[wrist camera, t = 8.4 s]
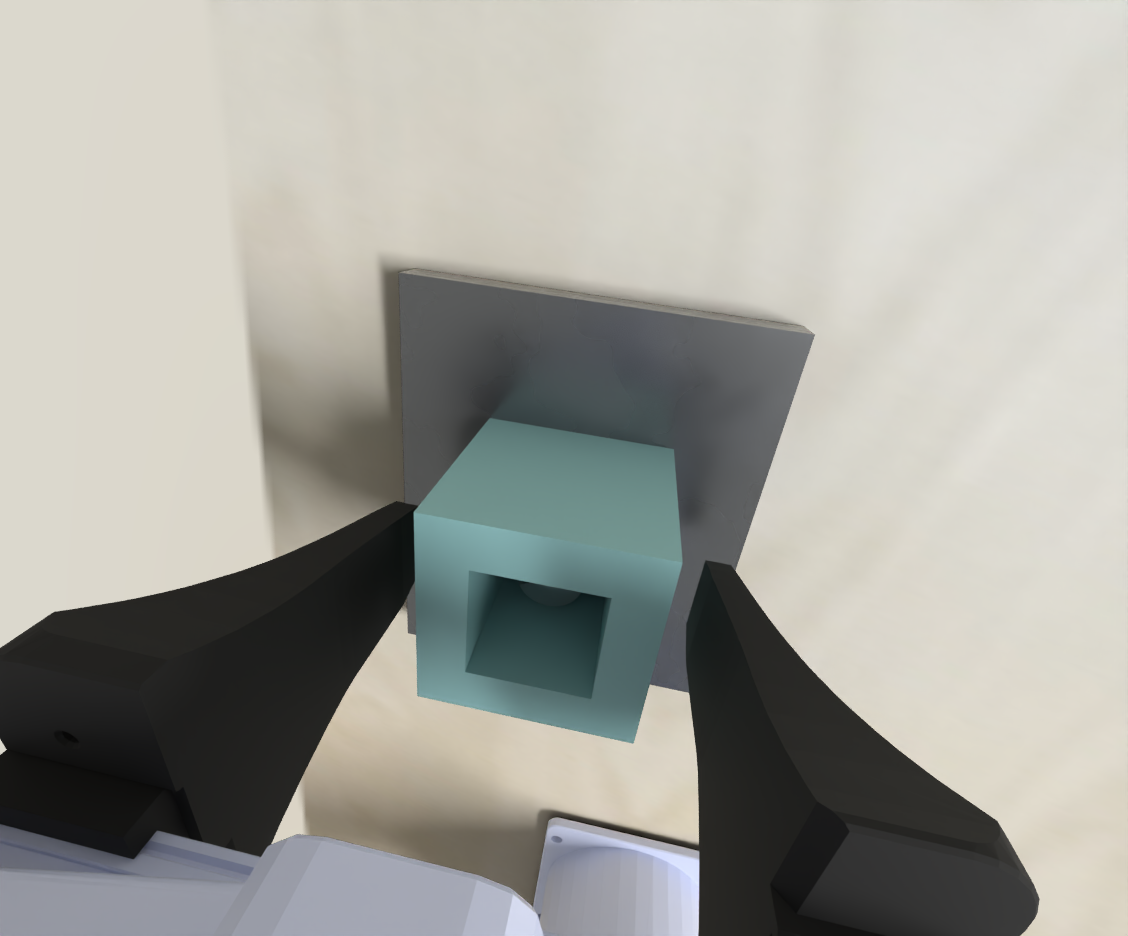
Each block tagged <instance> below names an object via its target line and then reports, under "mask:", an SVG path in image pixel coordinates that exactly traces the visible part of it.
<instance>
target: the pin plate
mask: <svg viewBox="0 0 1128 936" xmlns="http://www.w3.org/2000/svg"><path fill="white" fill-rule="evenodd" d="M399 302H400V341H401V380H402V419H403V458H404V497H405V503H407V504H413V505H418V506H419V505H420V504H421V503H422V501H423V500H424V499H425V498H426V496H427V495H428V494H429V493H430V491H431V490H432V489H433V488H434V486H435V485H436V484H437V483H438V481H439V480H440V479H441V478H442V477H443V475H444V474H445V473H446V472H447V470H448V469H449V468H450V467H451V465H452V464H453V463H454V462H455V460H456V459H457V458H458V457H459V455H460V454H461V453H462V452H463V451H464V449H465V448H466V447H467V446H468V444H469V443H470V442H471V441H472V439H473V438H474V437H475V436H476V434H477V433H478V432H479V431H480V429H481V428H482V427H483V426H484V424H485V423H486V422H487V421H488V420H489V418H492V419H498V420H504V421H510V422H516V423H522V424H528V425H534V426H540V427H545V428H551V429H557V430H563V431H569V432H575V433H581V434H587V435H593V436H599V437H605V438H611V439H617V440H622V441H628V442H634V443H640V444H646V445H652V446H658V447H664V448H670V449H674V458H675V471H676V484H677V497H678V510H679V523H680V536H681V548H682V561H683V563H682V567H681V571H680V574H679V578H678V582H677V585H676V589H675V593H674V596H673V600H672V604H671V607H670V611H669V615H668V618H667V622H666V626H665V629H664V633H663V637H662V640H661V644H660V648H659V651H658V655H657V659H656V662H655V666H654V670H653V673H652V677H651V681H650V684H651V685H655V686H660V687H665V688H669V689H674V690H679V691H684V692H688V693H689V686H688V677H687V668H686V623H687V620H688V616H689V613H690V610H691V606H692V603H693V600H694V596H695V593H696V590H697V586H698V583H699V580H700V576H701V573H702V570H703V566H704V563H705V560H708V561H713V562H718V563H723V564H729V565H731V566H732V567H733V568H734V570H736V567H737V564H738V561H739V558H740V555H741V552H742V549H743V546H744V543H745V540H746V537H747V534H748V531H749V528H750V525H751V522H752V519H753V516H754V514H755V511H756V508H757V505H758V502H759V499H760V496H761V493H762V490H763V487H764V484H765V481H766V478H767V475H768V472H769V469H770V466H771V463H772V460H773V457H774V454H775V451H776V448H777V445H778V442H779V439H780V436H781V433H782V431H783V428H784V425H785V422H786V419H787V416H788V413H789V410H790V407H791V404H792V401H793V398H794V395H795V392H796V389H797V386H798V383H799V380H800V377H801V374H802V371H803V368H804V365H805V362H806V359H807V356H808V353H809V350H810V348H811V345H812V342H813V339H814V336H815V334H813V333H812V332H811V331H809V330H808V329H807V328H805V327H804V326H799V325H792V324H785V323H779V322H772V321H765V320H758V319H752V318H745V317H738V316H732V315H725V314H718V313H711V312H705V311H698V310H691V309H684V308H678V307H671V306H664V305H657V304H651V303H644V302H637V301H631V300H624V299H617V298H610V297H604V296H597V295H590V294H583V293H577V292H570V291H563V290H557V289H550V288H543V287H536V286H530V285H523V284H516V283H509V282H503V281H496V280H489V279H482V278H476V277H469V276H462V275H456V274H449V273H442V272H435V271H429V270H422V269H411V270H407V271H403V272H399ZM518 582H519V585H520V587H521V589H522V591H523V592H524V593H525V594H526V595H527V596H528V597H529V598H531V599H532V600H534V601H535V602H537V603H540V604H543V605H546V606H563V605H566V604H569V603H571V602H573V601H574V600H575V599H577V597H578V596H579V595H580V594H581V592H577V591H571V590H566V589H561V588H556V587H551V586H546V585H541V584H536V583H531V582H526V581H521V580H518ZM407 614H408V633H410V634H415V635H416V601H415V582H414V584H413V586H412V588H411V590H410V592H409V594H408V596H407Z"/></svg>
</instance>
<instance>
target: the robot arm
mask: <svg viewBox="0 0 1128 936" xmlns="http://www.w3.org/2000/svg"><path fill="white" fill-rule="evenodd" d="M417 508H418V505H413V504H407V503H402V502H397V501H396V502H394V503H392V504H389V505H387V506H385V507H383V508H381V509H379V510H377V511H375V512H373V513H371V514H369V515H367V516H365V517H363V518H361V519H360V520H358V521H356V522H354V523H352V524H350V525H348V526H346V527H344V528H342V529H340V530H338V531H336V532H334V533H332V534H330V535H328V536H326V537H323V538H321V539H319V540H317V541H314V542H312V543H310V544H308V545H306V546H303V547H301V548H299V549H297V550H295V551H292V552H290V553H288V554H285V555H283V556H280V557H278V558H275V559H273V560H270V561H268V562H265V563H262V564H259V565H256V566H254V567H251V568H248V569H245V570H243V571H239V572H236V573H233V574H230V575H226V576H223V577H219V578H216V579H212V580H209V581H206V582H202V583H199V584H195V585H192V586H188V587H185V588H180V589H176V590H172V591H168V592H164V593H159V594H154V595H150V596H145V597H141V598H136V599H131V600H126V601H120V602H114V603H108V604H102V605H96V606H90V607H84V608H78V609H72V610H65V611H58V612H54V613H52V614H51V615H49V616H47V617H46V618H45V619H43V620H41V621H40V622H38V623H37V624H35V625H34V626H32V627H31V628H29V629H28V630H26V631H25V632H23V633H22V634H20V635H19V636H17V637H16V638H14V639H13V640H11V641H10V642H9V643H7V644H6V645H4V646H3V647H1V648H0V739H1V741H2V743H3V744H4V746H5V747H6V749H7V750H6V751H5V752H3V753H2V754H1V755H0V936H1020V935H1021V934H1022V933H1023V932H1025V931H1026V929H1027V928H1028V927H1029V925H1030V924H1031V923H1032V921H1033V920H1034V919H1035V917H1036V915H1037V912H1038V905H1039V897H1038V894H1037V892H1036V889H1035V887H1034V884H1033V883H1032V881H1031V879H1030V877H1029V875H1028V874H1027V872H1026V870H1025V868H1024V866H1023V865H1022V863H1021V861H1020V859H1019V858H1018V856H1017V854H1016V852H1015V850H1014V849H1013V847H1012V845H1011V843H1010V842H1009V840H1008V838H1007V836H1006V835H1005V833H1004V831H1003V830H1002V828H1001V827H1000V825H999V823H998V822H997V821H996V820H995V819H993V818H992V817H991V816H989V815H988V814H986V813H985V812H983V811H982V810H980V809H979V808H978V807H976V806H975V805H973V804H972V803H970V802H969V801H967V800H966V799H964V798H963V797H962V796H960V795H959V794H957V793H956V792H954V791H953V790H951V789H950V788H949V787H947V786H946V785H944V784H943V783H941V782H940V781H938V780H937V779H936V778H934V777H933V776H932V775H930V774H929V773H928V772H926V771H925V770H924V769H922V768H921V767H920V766H919V765H917V764H916V763H915V762H913V761H912V760H911V759H909V758H908V757H907V756H906V755H904V754H903V753H902V752H900V751H899V750H898V749H897V748H895V747H894V746H893V745H892V744H891V743H889V742H888V741H887V740H886V739H884V738H883V737H882V736H881V735H880V734H878V733H877V732H876V731H875V730H874V729H873V728H872V727H870V726H869V725H868V724H867V723H866V722H865V721H864V720H862V719H861V718H860V717H859V716H858V715H857V714H856V713H855V712H853V711H852V710H851V709H850V708H849V707H848V706H847V705H846V704H845V703H844V702H843V701H842V700H841V699H840V698H838V697H837V696H836V695H835V694H834V693H833V692H832V691H831V690H830V688H829V687H828V686H827V685H826V684H825V683H824V682H823V681H822V680H821V679H820V678H819V677H818V676H817V675H816V674H815V673H814V672H813V671H812V670H811V669H810V668H809V667H808V666H807V664H806V663H805V662H804V661H803V660H802V659H801V658H800V656H799V655H798V654H797V653H796V652H795V651H794V649H793V648H792V647H791V646H790V645H789V644H788V642H787V641H786V640H785V639H784V637H783V636H782V635H781V634H780V632H779V631H778V630H777V629H776V627H775V626H774V625H773V623H772V622H771V621H770V619H769V618H768V617H767V615H766V614H765V613H764V611H763V610H762V609H761V607H760V606H759V604H758V603H757V602H756V600H755V599H754V597H753V596H752V595H751V593H750V592H749V590H748V589H747V587H746V586H745V584H744V583H743V581H742V580H741V579H740V577H739V576H738V574H737V573H736V571H735V570H734V568H733V567H732V566H731V565H729V564H723V563H718V562H713V561H708V560H705V563H704V566H703V570H702V573H701V576H700V580H699V583H698V586H697V590H696V593H695V596H694V600H693V603H692V606H691V610H690V613H689V616H688V620H687V623H686V668H687V677H688V686H689V695H690V703H691V711H692V719H693V727H694V735H695V744H696V752H697V765H698V795H699V851H697V850H693V849H689V848H685V847H681V846H676V845H672V844H668V843H664V842H660V841H656V840H651V839H647V838H643V837H639V836H635V835H630V834H626V833H622V832H618V831H614V830H609V829H605V828H601V827H597V826H593V825H588V824H584V823H580V822H576V821H572V820H567V819H563V818H557V817H556V818H552V819H550V820H549V822H548V826H547V831H546V837H545V842H544V848H543V853H542V859H541V864H540V870H539V875H538V881H537V886H536V892H535V897H534V903H533V906H531V905H530V904H529V903H528V902H527V901H525V900H524V899H523V898H522V897H521V896H520V895H518V894H517V893H516V892H515V891H514V890H512V889H511V888H509V887H507V886H504V885H502V884H499V883H497V882H494V881H492V880H489V879H487V878H484V877H482V876H479V875H475V874H472V873H468V872H464V871H460V870H456V869H452V868H448V867H444V866H440V865H436V864H432V863H428V862H424V861H420V860H416V859H412V858H408V857H404V856H400V855H396V854H392V853H388V852H384V851H380V850H376V849H372V848H368V847H364V846H360V845H356V844H352V843H348V842H344V841H340V840H336V839H332V838H328V837H321V836H310V835H299V834H297V835H294V836H292V837H289V838H286V839H284V840H281V841H279V842H277V843H274V844H271V843H272V841H273V839H274V836H275V834H276V832H277V830H278V827H279V825H280V823H281V821H282V818H283V816H284V814H285V812H286V810H287V808H288V806H289V804H290V802H291V799H292V797H293V795H294V793H295V791H296V789H297V787H298V785H299V782H300V780H301V778H302V776H303V774H304V772H305V770H306V768H307V766H308V764H309V762H310V760H311V758H312V756H313V754H314V752H315V750H316V748H317V746H318V744H319V742H320V740H321V738H322V736H323V734H324V732H325V730H326V728H327V726H328V724H329V723H330V721H331V719H332V717H333V715H334V713H335V711H336V709H337V708H338V706H339V704H340V702H341V700H342V698H343V696H344V694H345V693H346V691H347V689H348V688H349V686H350V684H351V683H352V681H353V679H354V678H355V676H356V675H357V673H358V672H359V670H360V669H361V667H362V666H363V664H364V663H365V661H366V660H367V658H368V657H369V655H370V654H371V652H372V651H373V649H374V648H375V646H376V645H377V643H378V642H379V640H380V639H381V637H382V636H383V634H384V633H385V631H386V630H387V629H388V627H389V625H390V624H391V622H392V621H393V619H394V618H395V616H396V615H397V613H398V612H399V610H400V609H401V607H402V606H403V604H404V602H405V600H406V598H407V596H408V594H409V592H410V590H411V588H412V586H413V584H414V582H415V552H414V511H415V510H416V509H417Z"/></svg>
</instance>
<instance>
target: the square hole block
mask: <svg viewBox="0 0 1128 936" xmlns="http://www.w3.org/2000/svg"><path fill="white" fill-rule="evenodd" d="M414 552H415V601H416V649H417V696H420V697H424V698H429V699H433V700H438V701H443V702H447V703H452V704H456V705H461V706H465V707H470V708H474V709H479V710H483V711H488V712H492V713H497V714H502V715H506V716H511V717H515V718H520V719H524V720H529V721H533V722H538V723H542V724H547V725H551V726H556V727H561V728H565V729H570V730H574V731H579V732H583V733H588V734H592V735H597V736H601V737H606V738H610V739H615V740H620V741H624V742H629V743H634V740H635V736H636V732H637V729H638V725H639V721H640V718H641V714H642V710H643V707H644V703H645V699H646V696H647V692H648V688H649V685H650V681H651V677H652V673H653V670H654V666H655V662H656V659H657V655H658V651H659V648H660V644H661V640H662V637H663V633H664V629H665V626H666V622H667V618H668V615H669V611H670V607H671V604H672V600H673V596H674V593H675V589H676V585H677V582H678V578H679V574H680V571H681V567H682V563H683V561H682V548H681V536H680V523H679V510H678V497H677V484H676V471H675V458H674V449H670V448H664V447H658V446H652V445H646V444H640V443H634V442H628V441H622V440H617V439H611V438H605V437H599V436H593V435H587V434H581V433H575V432H569V431H563V430H557V429H551V428H545V427H540V426H534V425H528V424H522V423H516V422H510V421H504V420H498V419H492V418H489V420H488V421H487V422H486V423H485V424H484V426H483V427H482V428H481V429H480V431H479V432H478V433H477V434H476V436H475V437H474V438H473V439H472V441H471V442H470V443H469V444H468V446H467V447H466V448H465V449H464V451H463V452H462V453H461V454H460V455H459V457H458V458H457V459H456V460H455V462H454V463H453V464H452V465H451V467H450V468H449V469H448V470H447V472H446V473H445V474H444V475H443V477H442V478H441V479H440V480H439V481H438V483H437V484H436V485H435V486H434V488H433V489H432V490H431V491H430V493H429V494H428V495H427V496H426V498H425V499H424V500H423V501H422V503H421V504H420V505H419V506H418V508H417V509H416V510H415V511H414ZM518 580H521V581H526V582H531V583H536V584H541V585H546V586H551V587H556V588H561V589H566V590H571V591H577V592H581V594H580V595H579V596H578V597H577V599H575V600H574V601H573V602H571V603H569V604H566V605H563V606H546V605H543V604H540V603H537V602H535V601H534V600H532V599H531V598H529V597H528V596H527V595H526V594H525V593H524V592H523V591H522V589H521V587H520V585H519V582H518Z"/></svg>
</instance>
